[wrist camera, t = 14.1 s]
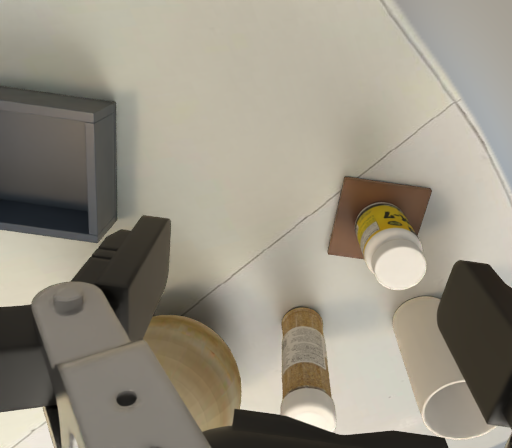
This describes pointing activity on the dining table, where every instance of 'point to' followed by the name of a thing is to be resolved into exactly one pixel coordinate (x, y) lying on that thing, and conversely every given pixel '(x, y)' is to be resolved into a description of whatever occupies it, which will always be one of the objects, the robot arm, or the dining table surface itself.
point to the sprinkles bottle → (306, 370)
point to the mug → (435, 373)
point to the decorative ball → (197, 368)
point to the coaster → (364, 194)
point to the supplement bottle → (390, 246)
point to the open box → (57, 165)
